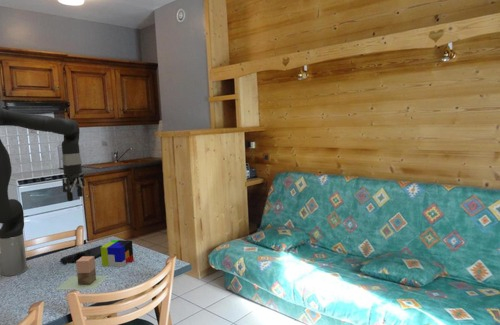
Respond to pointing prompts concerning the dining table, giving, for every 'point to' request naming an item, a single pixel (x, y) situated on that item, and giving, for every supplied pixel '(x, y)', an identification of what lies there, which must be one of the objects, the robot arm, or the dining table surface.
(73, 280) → the build board
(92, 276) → the walnut block
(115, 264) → the puzzle toy
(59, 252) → the dining table surface
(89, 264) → the terracotta block
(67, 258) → the dark slate chunk
